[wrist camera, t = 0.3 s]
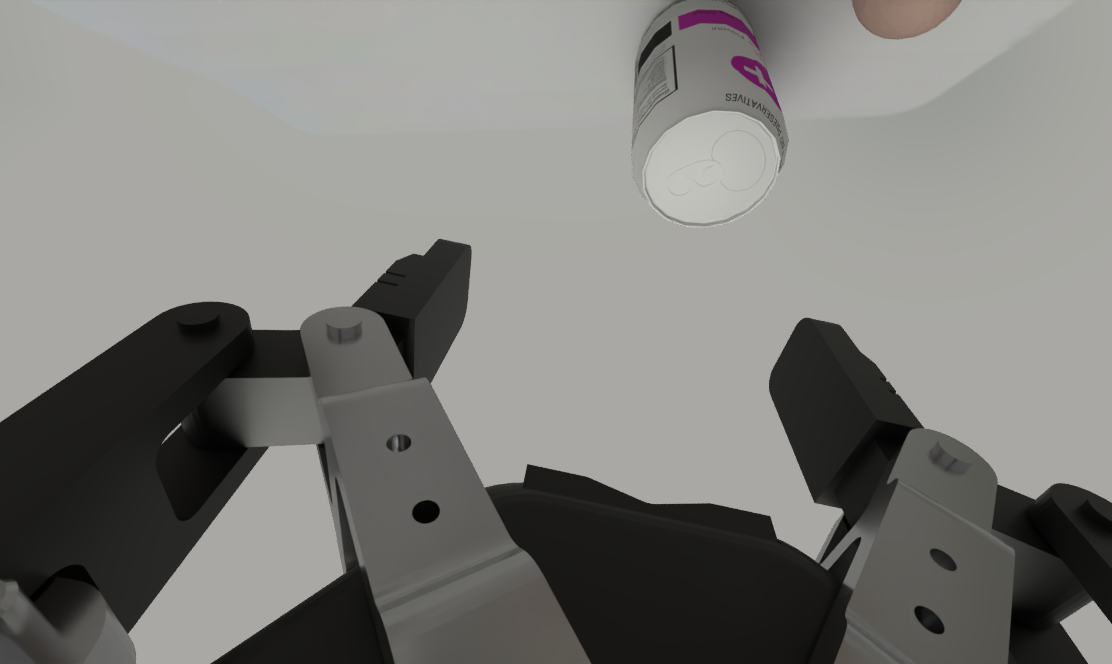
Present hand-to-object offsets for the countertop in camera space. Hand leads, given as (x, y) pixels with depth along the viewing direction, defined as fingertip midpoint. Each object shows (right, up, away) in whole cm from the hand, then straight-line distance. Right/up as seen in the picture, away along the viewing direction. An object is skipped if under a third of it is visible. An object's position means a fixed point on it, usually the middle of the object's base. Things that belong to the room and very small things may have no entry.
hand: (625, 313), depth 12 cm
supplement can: (+8, +20, +23) cm, 32 cm away
